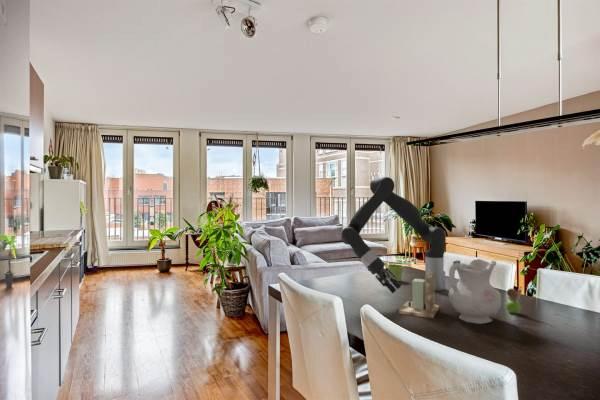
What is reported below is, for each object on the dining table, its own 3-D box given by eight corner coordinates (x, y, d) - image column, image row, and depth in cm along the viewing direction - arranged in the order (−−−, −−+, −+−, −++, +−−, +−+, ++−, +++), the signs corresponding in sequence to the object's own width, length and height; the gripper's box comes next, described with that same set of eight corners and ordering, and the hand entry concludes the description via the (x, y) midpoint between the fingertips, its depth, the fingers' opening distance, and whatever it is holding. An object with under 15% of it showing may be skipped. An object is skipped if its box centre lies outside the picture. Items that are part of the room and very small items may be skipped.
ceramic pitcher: (477, 334, 136) (482, 268, 134) (433, 316, 152) (437, 257, 150) (509, 323, 147) (514, 262, 145) (465, 307, 164) (469, 252, 162)
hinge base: (398, 313, 157) (398, 275, 157) (407, 303, 171) (407, 269, 171) (433, 318, 151) (433, 279, 150) (439, 307, 165) (439, 272, 164)
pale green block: (412, 308, 160) (412, 281, 160) (415, 305, 165) (415, 278, 164) (423, 310, 158) (423, 282, 157) (425, 306, 162) (425, 279, 162)
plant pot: (403, 282, 212) (403, 267, 212) (387, 281, 215) (386, 267, 215) (403, 279, 221) (403, 264, 221) (387, 278, 224) (387, 264, 224)
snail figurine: (517, 316, 152) (517, 287, 152) (502, 312, 158) (502, 284, 158) (525, 314, 155) (525, 286, 154) (510, 310, 160) (510, 282, 160)
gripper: (373, 259, 163) (399, 287, 158) (382, 254, 176) (406, 281, 170) (361, 269, 166) (386, 298, 160) (371, 264, 178) (395, 291, 173)
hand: (397, 289), depth 165 cm, fingers open, 8 cm apart
